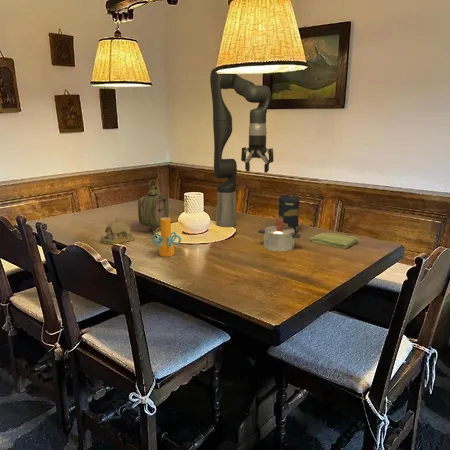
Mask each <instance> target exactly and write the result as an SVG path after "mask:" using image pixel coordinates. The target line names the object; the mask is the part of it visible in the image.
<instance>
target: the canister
mask: <svg viewBox="0 0 450 450" xmlns="http://www.w3.org/2000/svg"><path fill="white" fill-rule="evenodd" d="M299 212H300V197H299V196H296V195H290V194H286V195H282V196H281V195H280V196H279V198H278V218H282V220H283V226H287V227H291V228H293V229H294V231H295V233H297V232H298V230H299V223H300V222H299V219H300V218H299V217H300V214H299Z"/></svg>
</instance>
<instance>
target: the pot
mask: <svg viewBox="0 0 450 450" xmlns="http://www.w3.org/2000/svg"><path fill="white" fill-rule="evenodd" d="M257 233H258V234H263V247H264V249H266V250H269V251H271V252H273V251H274V252H288V251H292V250H293V249H294V248H295V239H300V238H301V237H302V234H301V233H296V232H295V231H294V233H293V234H290V235H283V236H279V235H271V234H267V233H266V232H265V228H264V229H263V228H260V229H258V231H257Z"/></svg>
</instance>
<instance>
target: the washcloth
mask: <svg viewBox="0 0 450 450" xmlns="http://www.w3.org/2000/svg"><path fill="white" fill-rule="evenodd" d="M309 239H310V241H312V243H313V244H318V245H321V246H328V247H334V248H337V249H338V248H339V249H343V250H347V249H348V248H350V247H351V246H353V245H356V244H357V243H358V242H359V239H358V238H357V237H356V236H353V235H352V236H351V235H345V234H339V233H332V232H322V233H318V234H316V235H314V236H310V237H309Z"/></svg>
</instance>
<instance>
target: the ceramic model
mask: <svg viewBox="0 0 450 450" xmlns="http://www.w3.org/2000/svg"><path fill="white" fill-rule="evenodd" d="M131 230H132V229H131V227H130V225H129V224H128V223H127V222H125V221H124V219H119V218H115V220H114V221H111V222H110V223H109V224H108V225H107V226H106V228H105V230H104V233H106V235H105V236H101V238H100V241H101V242H102V244H105V245H117V244H121V243H127V242H132V241H134V240H135V236H133V235H132V232H131Z"/></svg>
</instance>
